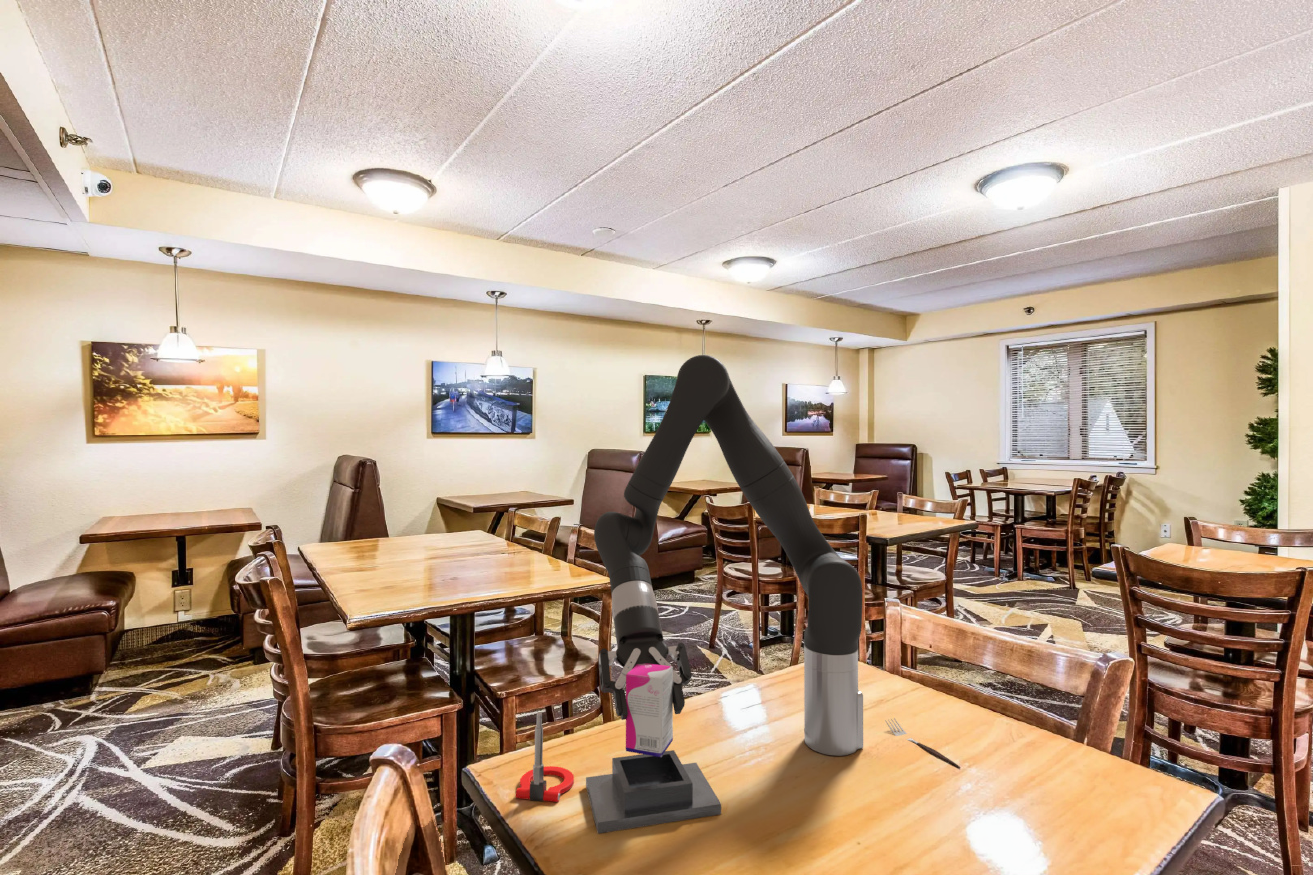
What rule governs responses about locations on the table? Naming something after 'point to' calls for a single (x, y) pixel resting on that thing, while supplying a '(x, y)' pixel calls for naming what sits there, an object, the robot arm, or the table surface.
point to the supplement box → (649, 709)
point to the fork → (921, 744)
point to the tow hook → (538, 785)
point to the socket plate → (649, 793)
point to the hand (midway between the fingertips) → (652, 714)
